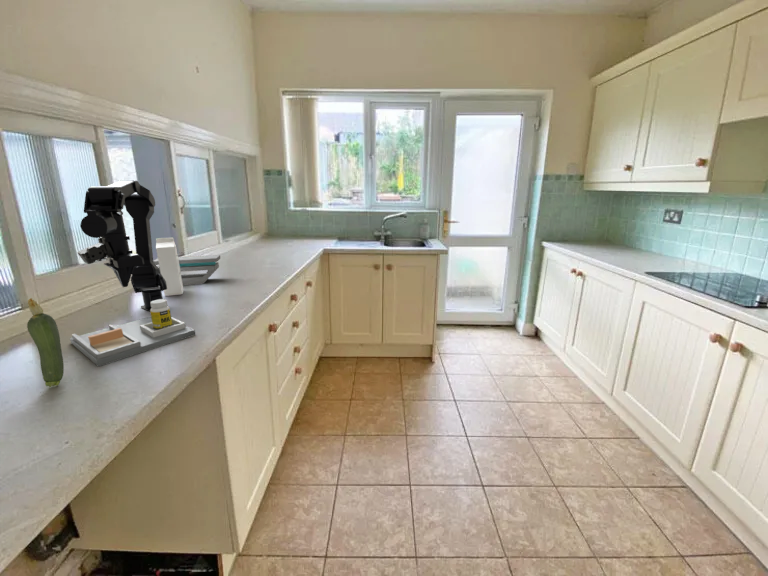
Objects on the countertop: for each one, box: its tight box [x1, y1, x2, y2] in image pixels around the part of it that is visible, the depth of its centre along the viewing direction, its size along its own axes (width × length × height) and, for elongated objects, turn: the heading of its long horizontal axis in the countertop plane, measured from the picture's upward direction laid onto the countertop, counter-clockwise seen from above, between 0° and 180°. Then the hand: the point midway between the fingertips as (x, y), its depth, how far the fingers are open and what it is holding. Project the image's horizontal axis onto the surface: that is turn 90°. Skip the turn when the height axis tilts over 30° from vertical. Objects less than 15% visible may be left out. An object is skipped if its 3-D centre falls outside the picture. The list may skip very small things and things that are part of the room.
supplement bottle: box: [149, 298, 173, 331], centre depth 103 cm, size 5×5×8 cm
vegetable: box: [26, 297, 65, 388], centre depth 75 cm, size 4×4×20 cm
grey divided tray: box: [69, 316, 196, 367], centre depth 100 cm, size 22×23×3 cm
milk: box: [155, 236, 184, 297], centre depth 140 cm, size 6×6×22 cm
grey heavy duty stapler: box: [153, 254, 221, 286], centre depth 157 cm, size 25×8×11 cm, turn 103°
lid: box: [88, 328, 132, 352], centre depth 92 cm, size 8×7×3 cm
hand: (125, 286), depth 105 cm, fingers closed
